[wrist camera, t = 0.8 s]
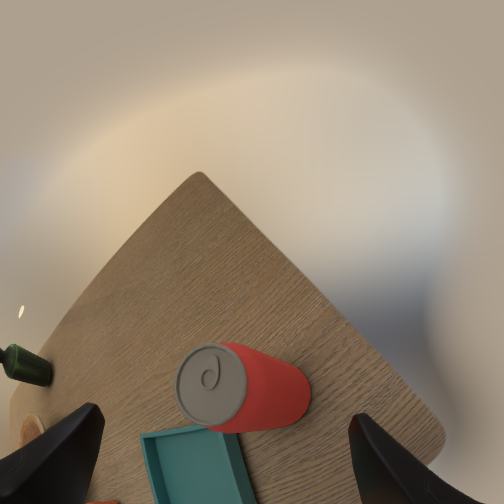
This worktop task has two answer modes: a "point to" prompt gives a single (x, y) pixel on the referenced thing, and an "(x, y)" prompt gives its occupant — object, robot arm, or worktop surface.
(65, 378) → the worktop surface
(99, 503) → the terracotta block
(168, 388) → the worktop surface
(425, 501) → the robot arm
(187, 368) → the beer can
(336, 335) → the worktop surface
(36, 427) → the bowl
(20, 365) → the potion bottle
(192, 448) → the tray
